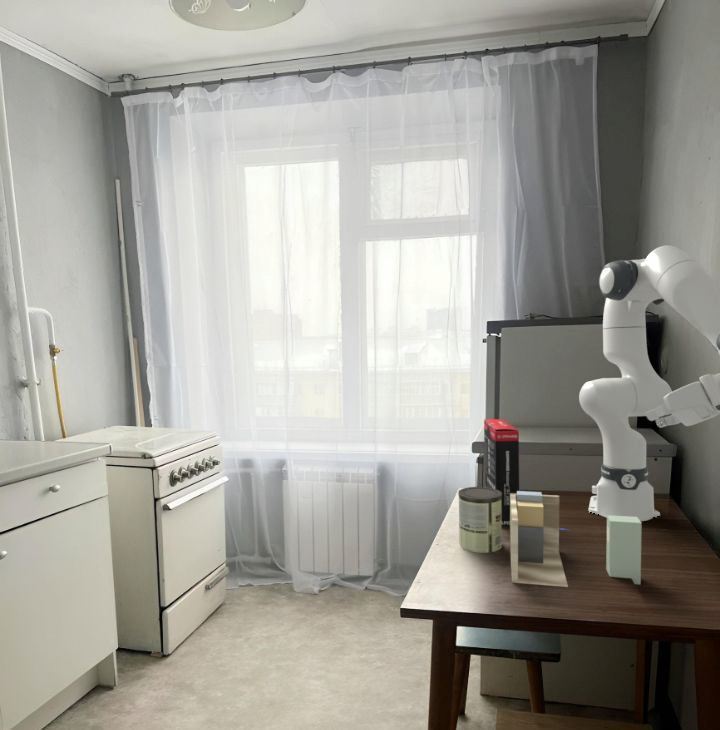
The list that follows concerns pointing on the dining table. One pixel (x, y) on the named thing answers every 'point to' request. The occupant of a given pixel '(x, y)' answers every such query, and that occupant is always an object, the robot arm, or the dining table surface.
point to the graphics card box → (501, 461)
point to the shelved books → (529, 509)
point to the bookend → (530, 544)
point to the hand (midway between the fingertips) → (652, 420)
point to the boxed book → (624, 547)
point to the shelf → (552, 565)
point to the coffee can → (480, 519)
